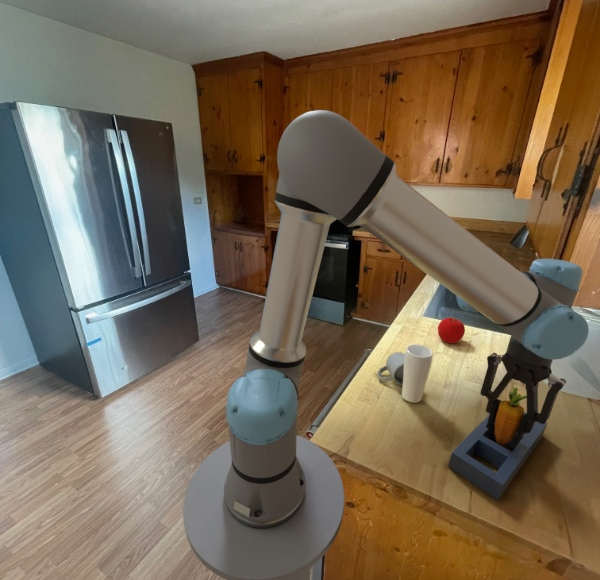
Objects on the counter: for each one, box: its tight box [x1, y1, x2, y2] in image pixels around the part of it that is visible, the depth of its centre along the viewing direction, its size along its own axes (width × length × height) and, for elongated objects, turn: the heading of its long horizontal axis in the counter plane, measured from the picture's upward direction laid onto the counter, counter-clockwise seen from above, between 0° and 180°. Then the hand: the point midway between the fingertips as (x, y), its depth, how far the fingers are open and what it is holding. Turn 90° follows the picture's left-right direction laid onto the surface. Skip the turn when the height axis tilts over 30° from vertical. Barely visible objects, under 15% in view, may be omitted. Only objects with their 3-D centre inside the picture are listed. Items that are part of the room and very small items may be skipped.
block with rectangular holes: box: [448, 411, 548, 501], centre depth 74 cm, size 10×26×4 cm, turn 130°
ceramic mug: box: [376, 351, 405, 387], centre depth 98 cm, size 11×8×8 cm
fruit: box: [437, 315, 466, 344], centre depth 120 cm, size 9×9×10 cm
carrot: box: [495, 386, 527, 447], centre depth 71 cm, size 5×5×15 cm
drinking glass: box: [401, 344, 434, 404], centre depth 88 cm, size 7×7×15 cm
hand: (503, 432), depth 72 cm, fingers closed on carrot, 5 cm apart
